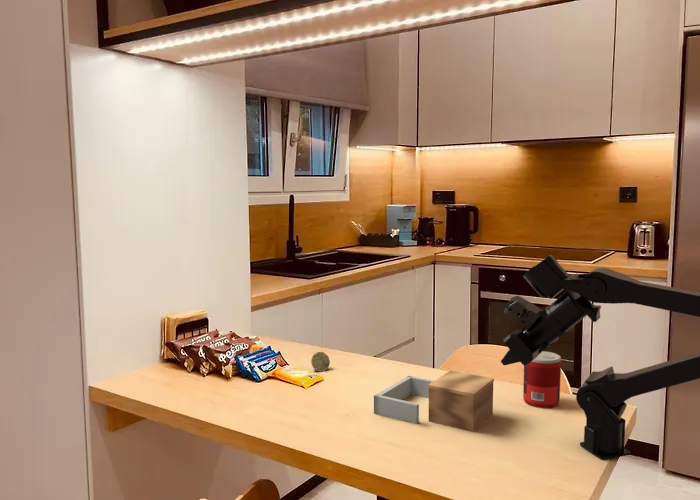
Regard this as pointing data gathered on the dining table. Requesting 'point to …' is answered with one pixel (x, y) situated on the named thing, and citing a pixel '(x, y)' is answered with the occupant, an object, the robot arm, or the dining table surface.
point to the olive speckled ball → (320, 361)
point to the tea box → (461, 400)
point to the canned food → (542, 380)
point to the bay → (392, 397)
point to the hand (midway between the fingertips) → (502, 363)
